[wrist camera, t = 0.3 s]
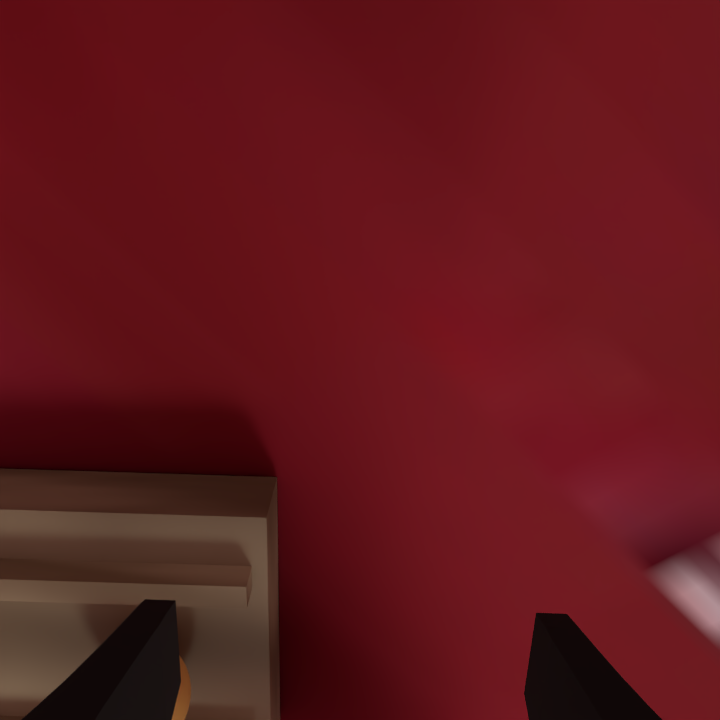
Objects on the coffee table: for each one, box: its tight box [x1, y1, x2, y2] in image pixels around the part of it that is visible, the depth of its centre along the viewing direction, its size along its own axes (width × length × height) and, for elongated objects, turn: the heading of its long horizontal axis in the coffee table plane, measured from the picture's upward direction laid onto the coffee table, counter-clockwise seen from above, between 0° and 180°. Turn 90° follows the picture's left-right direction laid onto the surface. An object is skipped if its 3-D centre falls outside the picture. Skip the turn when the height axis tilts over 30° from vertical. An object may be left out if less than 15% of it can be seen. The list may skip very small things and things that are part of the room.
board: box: [0, 468, 280, 720], centre depth 22 cm, size 11×18×4 cm, turn 88°
